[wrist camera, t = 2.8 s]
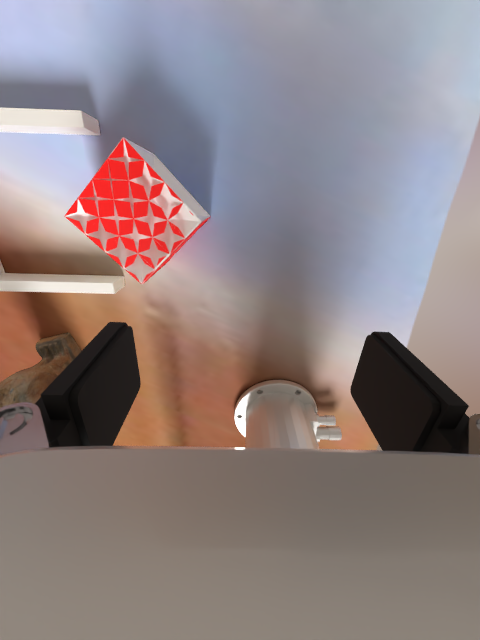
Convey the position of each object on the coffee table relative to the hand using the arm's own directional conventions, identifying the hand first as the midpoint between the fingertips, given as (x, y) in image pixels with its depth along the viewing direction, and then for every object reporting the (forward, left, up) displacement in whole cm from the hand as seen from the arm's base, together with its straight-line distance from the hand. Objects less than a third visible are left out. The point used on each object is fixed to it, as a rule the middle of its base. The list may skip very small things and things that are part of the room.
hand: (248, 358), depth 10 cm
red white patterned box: (+9, -4, -22) cm, 24 cm away
